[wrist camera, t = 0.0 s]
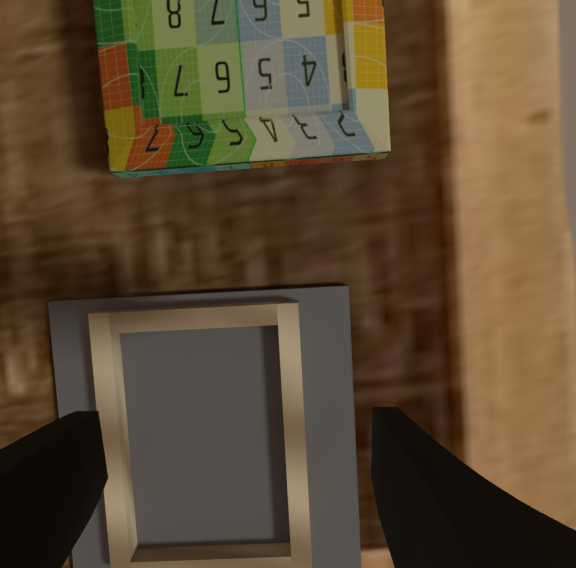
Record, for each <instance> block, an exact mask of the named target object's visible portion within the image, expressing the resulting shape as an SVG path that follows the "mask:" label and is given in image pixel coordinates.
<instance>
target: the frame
mask: <svg viewBox="0 0 576 568" xmlns="http://www.w3.org/2000/svg"><path fill="white" fill-rule="evenodd" d="M88 320H89V331H90V342H91V353H92V364H93V375H94V387H95V398H96V409H97V411H99V418H100V424H101V431H102V438H103V445H104V452H105V458H106V465H107V472H108V480H107V483H106V485H105V487H104V498H105V509H106V521H107V532H108V543H109V554H110V565H111V568H312V552H311V533H310V515H309V496H308V477H307V458H306V440H305V421H304V402H303V384H302V365H301V346H300V328H299V309H298V300H297V301H278V302H259V303H240V304H221V305H201V306H182V307H163V308H144V309H125V310H106V311H96V312H92V313H89V314H88ZM268 325H278V333H279V351H280V368H281V386H282V403H283V421H284V438H285V456H286V473H287V491H288V508H289V526H290V543H268V544H241V545H215V546H188V547H161V548H138V544H137V532H136V521H135V509H134V497H133V485H132V473H131V461H130V450H129V438H128V426H127V414H126V402H125V390H124V378H123V367H122V355H121V343H120V333H130V332H150V331H169V330H189V329H209V328H228V327H248V326H268Z"/></svg>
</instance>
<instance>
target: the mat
mask: <svg viewBox="0 0 576 568" xmlns="http://www.w3.org/2000/svg"><path fill="white" fill-rule="evenodd" d="M297 300H298V309H299V328H300V346H301V365H302V384H303V402H304V421H305V440H306V458H307V477H308V496H309V515H310V533H311V552H312V568H361V552H360V529H359V507H358V485H357V462H356V440H355V418H354V395H353V373H352V351H351V328H350V306H349V286H348V285H341V286H322V287H303V288H284V289H265V290H246V291H227V292H209V293H190V294H171V295H152V296H133V297H114V298H95V299H76V300H58V301H50V302H48V309H49V319H50V330H51V340H52V351H53V361H54V371H55V382H56V392H57V403H58V413H59V418H61V417H63V416H65V415H67V414H70V413H72V412H75V411H97V409H96V398H95V387H94V375H93V364H92V353H91V342H90V331H89V320H88V314H89V313H92V312H96V311H106V310H125V309H144V308H163V307H182V306H201V305H221V304H240V303H259V302H278V301H297ZM120 343H121V355H122V367H123V378H124V390H125V402H126V414H127V426H128V438H129V450H130V461H131V473H132V485H133V497H134V509H135V521H136V532H137V544H138V548H161V547H188V546H215V545H241V544H268V543H290V526H289V508H288V491H287V473H286V456H285V438H284V421H283V403H282V386H281V368H280V351H279V333H278V325H268V326H248V327H228V328H209V329H189V330H169V331H150V332H130V333H120ZM72 558H73V568H111V565H110V554H109V543H108V532H107V521H106V509H105V498H104V490H103V492H102V495H101V497H100V499H99V502H98V504H97V506H96V508H95V510H94V513H93V515H92V517H91V518H90V520H89V522H88V524H87V525H86V527H85V529H84V531H83V532H82V534H81V536H80V537H79V539H78V541H77V542H76V544H75V546H74V547H73V549H72Z"/></svg>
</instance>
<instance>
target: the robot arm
mask: <svg viewBox="0 0 576 568" xmlns="http://www.w3.org/2000/svg"><path fill="white" fill-rule="evenodd" d="M371 477H372V483H373V488H374V494H375V499H376V505H377V510H378V514H379V518H380V521H381V525H382V528H383V531H384V534H385V538H386V541H387V544H388V547H389V551H390V554H391V557H392V560H393V564H394V567H395V568H576V531H575V530H573V529H571V528H569V527H567V526H566V525H564V524H562V523H560V522H558V521H556V520H554V519H552V518H550V517H548V516H547V515H545V514H543V513H541V512H539V511H537V510H535V509H534V508H532V507H530V506H528V505H527V504H525V503H523V502H521V501H520V500H518V499H516V498H515V497H513V496H512V495H510V494H508V493H507V492H505V491H504V490H502V489H500V488H499V487H497V486H496V485H494V484H493V483H491V482H490V481H488V480H487V479H485V478H484V477H482V476H481V475H479V474H478V473H477V472H475V471H474V470H472V469H471V468H470V467H468V466H467V465H466V464H464V463H463V462H462V461H460V460H459V459H458V458H456V457H455V456H454V455H452V454H451V453H450V452H449V451H447V450H446V449H445V448H444V447H442V446H441V445H440V444H439V443H438V442H436V441H435V440H434V439H433V438H432V437H431V436H429V435H428V434H427V433H426V432H425V431H424V430H422V429H421V428H420V427H419V426H418V425H417V424H416V423H415V422H413V421H412V420H411V419H410V418H409V417H408V416H407V415H406V414H405V413H403V412H402V411H401V410H400V409H399V408H397V407H373V425H372V464H371ZM107 480H108V472H107V465H106V458H105V452H104V445H103V438H102V431H101V424H100V418H99V411H75V412H72V413H70V414H67V415H65V416H63V417H61V418H59V419H57V420H55V421H53V422H51V423H49V424H47V425H45V426H43V427H42V428H40V429H38V430H36V431H34V432H32V433H30V434H28V435H27V436H25V437H23V438H21V439H19V440H17V441H15V442H14V443H12V444H10V445H8V446H6V447H4V448H2V449H1V450H0V568H61V567H62V566H63V564H64V562H65V561H66V559H67V557H68V556H69V554H70V552H71V551H72V549H73V547H74V546H75V544H76V542H77V541H78V539H79V537H80V536H81V534H82V532H83V531H84V529H85V527H86V525H87V524H88V522H89V520H90V518H91V517H92V515H93V513H94V510H95V508H96V506H97V504H98V502H99V499H100V497H101V495H102V492H103V490H104V487H105V485H106V483H107Z"/></svg>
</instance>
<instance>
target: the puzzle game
mask: <svg viewBox="0 0 576 568" xmlns="http://www.w3.org/2000/svg"><path fill="white" fill-rule="evenodd" d="M93 10H94V20H95V30H96V40H97V50H98V61H99V71H100V81H101V91H102V101H103V111H104V121H105V131H106V142H107V152H108V162H109V172H110V174H112V175H114V176H116V177H119V178H128V177H142V176H155V175H169V174H182V173H196V172H209V171H223V170H237V169H250V168H264V167H277V166H291V165H304V164H318V163H332V162H345V161H359V160H372V159H386V158H387V157H388V155H389V154H390V153H391V145H390V125H389V104H388V84H387V64H386V43H385V23H384V3H383V0H93Z"/></svg>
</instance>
